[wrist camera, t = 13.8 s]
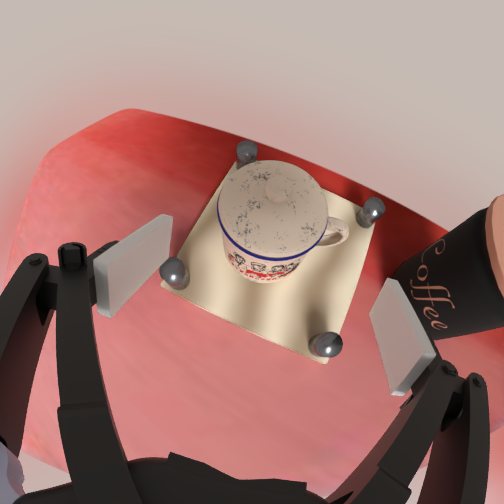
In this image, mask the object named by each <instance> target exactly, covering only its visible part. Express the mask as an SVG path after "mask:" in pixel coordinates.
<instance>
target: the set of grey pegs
mask: <svg viewBox="0 0 504 504" xmlns="http://www.w3.org/2000/svg"><path fill="white" fill-rule="evenodd" d="M257 149H258V148H257V145H256V144H255V143H254V142H252V141H242V142H240V143H239V144H238V145H237V150H236V168H237V170H239V169H240V168H242V167H244V166H246V165H248V164H250V163H254V162H256V158H257ZM384 212H385V205H384V203H383V202H382V200H380V199H379V198H377V197H370V198H369V199H368V200H367V201H366V202H365V204H364V205H363V206H362V208H361V209H360V210H359V211H358V213H357V214H356V222H357V223H358V225H359V226H361V227H362V228H366V229H367V228H370V227H371V226H372V225H373V224H374V223H375V222H376V221H377V220H378V219H379V218H380V217H381V216H382V215H383V214H384ZM159 272H160V275H161V277H162V278H163V279H164V280H165V282H166V283H167V284H168V285H169V286H170V287H171V288H173V289H174V290H183V289H185V288H186V287H187V286H188V285H189V283H190V275H189V273H188V271H187V270H186V268H185V266H184V264H183V263H182V261H181V260H180V259H178V258H175V257H170V258H168V259H167V260H166V261H165V262H164V263H163V264H162V265H161V266H160V269H159ZM342 346H343V342H342V339H341V337H340V336H339V335H338V334H337V333H335V332H325V333H321V334H317V335H314V336H313V337H312V338H311V339H310V341H309V344H308V349H309V351H310V353H311V354H312V355H313V356H316V357H335V356H336V355H338V354H339V353H340V351H341V350H342Z"/></svg>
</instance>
